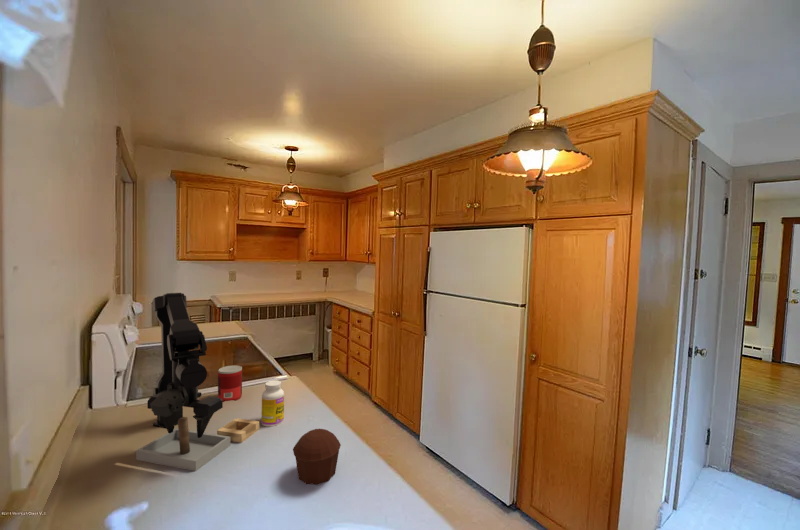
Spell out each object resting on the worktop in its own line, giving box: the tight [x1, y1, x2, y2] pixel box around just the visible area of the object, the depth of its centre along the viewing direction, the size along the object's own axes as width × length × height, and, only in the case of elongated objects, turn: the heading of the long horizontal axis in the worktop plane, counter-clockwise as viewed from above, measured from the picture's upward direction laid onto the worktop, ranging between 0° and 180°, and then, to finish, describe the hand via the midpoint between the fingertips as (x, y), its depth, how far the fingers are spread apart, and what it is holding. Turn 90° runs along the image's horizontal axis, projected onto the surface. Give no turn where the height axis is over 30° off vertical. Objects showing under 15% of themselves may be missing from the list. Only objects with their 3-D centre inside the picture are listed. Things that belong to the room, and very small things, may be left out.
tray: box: [135, 427, 231, 472], centre depth 95 cm, size 18×12×3 cm, turn 77°
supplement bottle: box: [260, 379, 285, 428], centre depth 112 cm, size 7×7×13 cm
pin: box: [177, 416, 190, 455], centre depth 94 cm, size 2×2×9 cm
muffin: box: [292, 428, 342, 486], centre depth 87 cm, size 12×11×10 cm
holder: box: [216, 417, 260, 444], centre depth 105 cm, size 8×8×3 cm
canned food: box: [217, 365, 243, 403], centre depth 131 cm, size 8×8×11 cm
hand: (185, 435), depth 94 cm, fingers open, 9 cm apart
